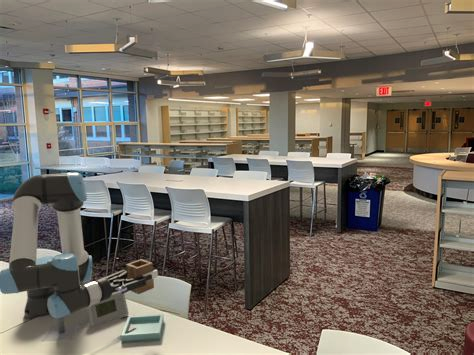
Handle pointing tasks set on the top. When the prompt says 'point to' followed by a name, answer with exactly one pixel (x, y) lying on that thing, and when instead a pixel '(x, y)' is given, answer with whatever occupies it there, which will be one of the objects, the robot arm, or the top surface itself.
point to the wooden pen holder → (140, 274)
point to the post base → (56, 332)
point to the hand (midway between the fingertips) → (150, 270)
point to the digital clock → (108, 309)
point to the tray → (143, 328)
